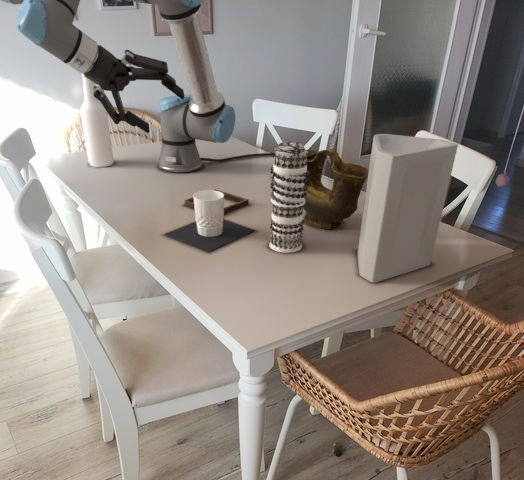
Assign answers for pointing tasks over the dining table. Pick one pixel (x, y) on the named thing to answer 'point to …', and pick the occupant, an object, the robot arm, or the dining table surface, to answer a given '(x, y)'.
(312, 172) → the pottery vessel
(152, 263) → the dining table surface
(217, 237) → the mat
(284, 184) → the decorative candle
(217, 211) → the white cup
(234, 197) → the wooden frame
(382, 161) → the white triangular vase
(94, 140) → the alcohol
